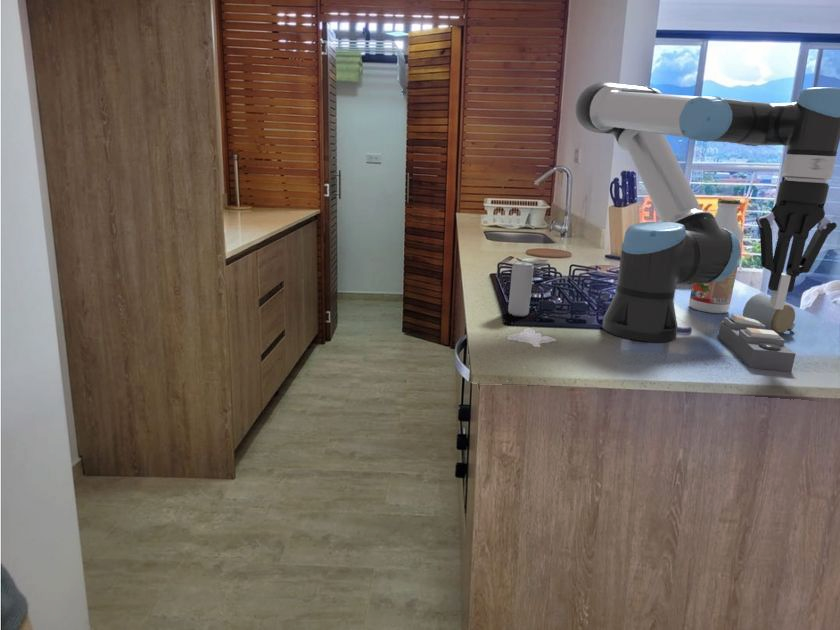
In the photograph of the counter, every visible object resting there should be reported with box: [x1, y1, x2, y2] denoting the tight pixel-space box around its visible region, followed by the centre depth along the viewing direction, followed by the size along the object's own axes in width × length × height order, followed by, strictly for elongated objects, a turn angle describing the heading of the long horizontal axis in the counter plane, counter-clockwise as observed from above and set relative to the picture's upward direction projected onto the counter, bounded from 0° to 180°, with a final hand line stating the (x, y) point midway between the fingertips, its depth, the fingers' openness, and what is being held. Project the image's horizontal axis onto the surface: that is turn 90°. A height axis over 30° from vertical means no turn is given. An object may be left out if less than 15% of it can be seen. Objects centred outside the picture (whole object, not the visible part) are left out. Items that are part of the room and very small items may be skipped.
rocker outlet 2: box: [745, 328, 780, 339], centre depth 112 cm, size 5×3×1 cm
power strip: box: [717, 316, 796, 373], centre depth 115 cm, size 7×20×5 cm, turn 169°
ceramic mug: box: [742, 293, 796, 335], centre depth 133 cm, size 11×8×8 cm
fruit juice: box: [688, 197, 744, 314], centre depth 146 cm, size 9×9×28 cm
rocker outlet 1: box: [729, 313, 761, 325], centre depth 121 cm, size 5×3×1 cm
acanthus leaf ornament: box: [506, 328, 557, 348], centre depth 116 cm, size 8×7×2 cm
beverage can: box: [507, 260, 535, 317], centre depth 134 cm, size 5×5×12 cm
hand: (776, 307), depth 110 cm, fingers closed
